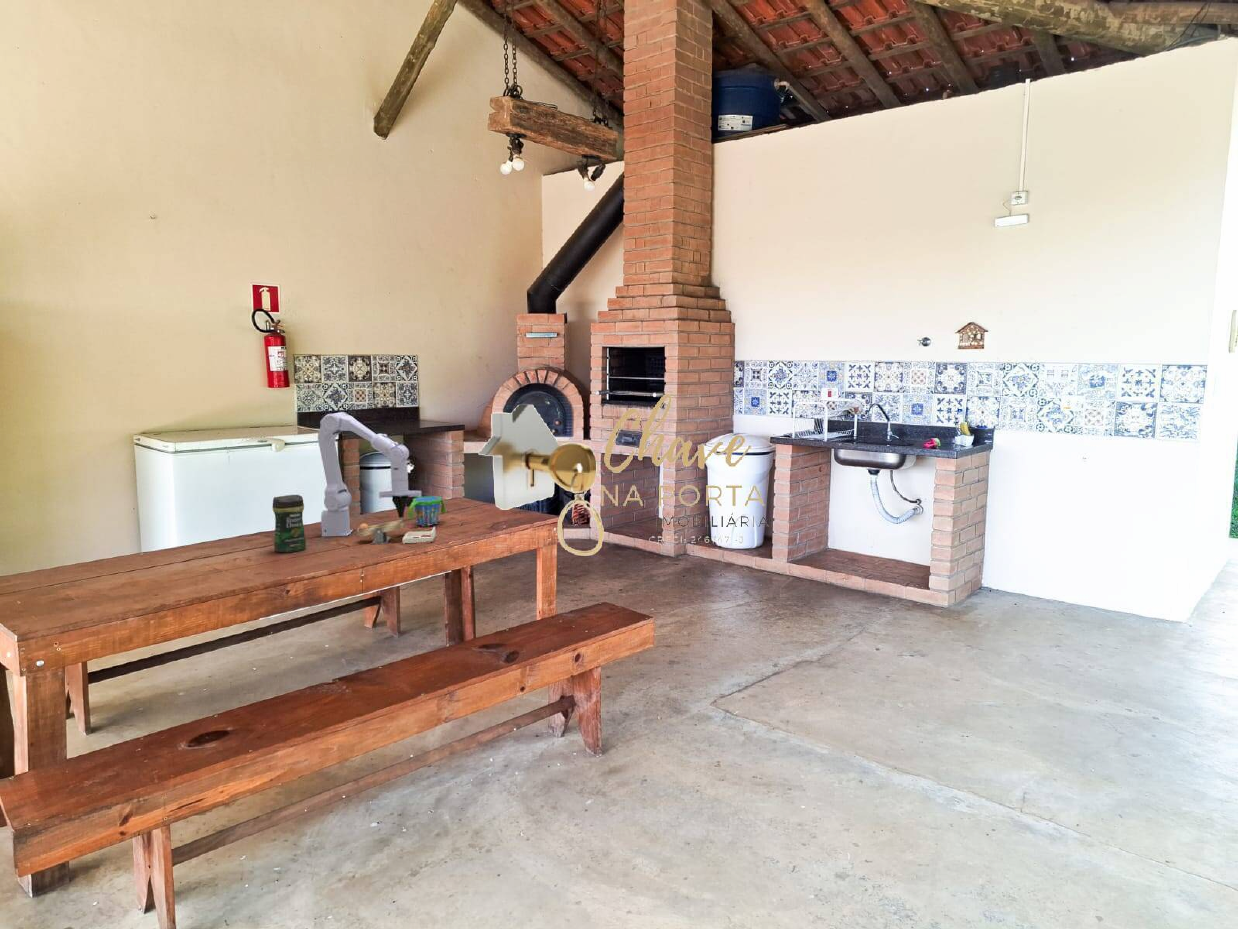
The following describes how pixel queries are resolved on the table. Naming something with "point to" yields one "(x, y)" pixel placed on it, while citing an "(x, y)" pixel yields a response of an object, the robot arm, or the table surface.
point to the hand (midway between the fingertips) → (401, 516)
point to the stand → (380, 537)
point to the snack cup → (426, 509)
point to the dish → (409, 536)
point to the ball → (364, 527)
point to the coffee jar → (289, 523)
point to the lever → (382, 527)
